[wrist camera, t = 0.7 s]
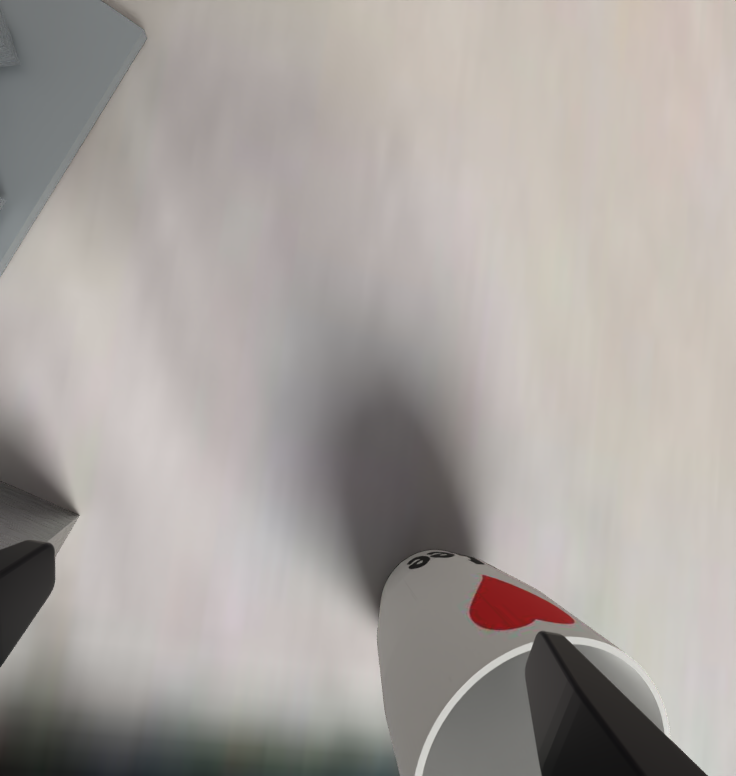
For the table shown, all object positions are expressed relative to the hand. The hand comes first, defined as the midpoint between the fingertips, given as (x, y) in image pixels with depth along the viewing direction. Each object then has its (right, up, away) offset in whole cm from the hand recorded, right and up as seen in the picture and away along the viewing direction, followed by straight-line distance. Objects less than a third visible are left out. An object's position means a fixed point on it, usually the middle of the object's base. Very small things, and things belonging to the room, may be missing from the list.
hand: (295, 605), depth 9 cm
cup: (+4, -6, +15) cm, 16 cm away
